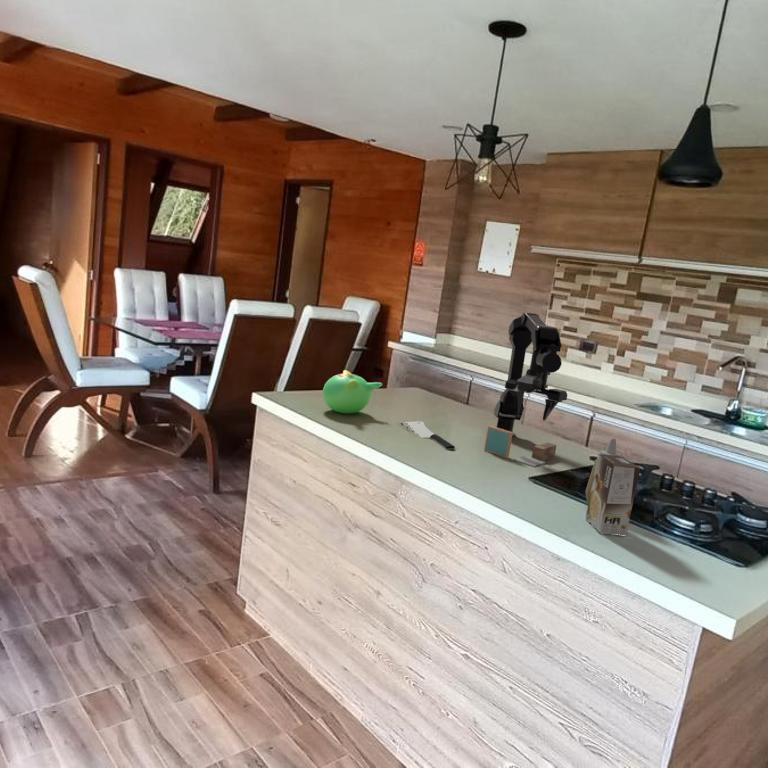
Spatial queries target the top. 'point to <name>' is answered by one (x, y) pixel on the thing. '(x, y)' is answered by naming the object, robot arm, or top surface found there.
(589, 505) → the coffee box
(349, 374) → the toy bird
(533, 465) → the turner
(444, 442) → the kitchen cleaver
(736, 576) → the top surface
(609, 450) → the squeeze bottle
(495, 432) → the tile
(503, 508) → the top surface
